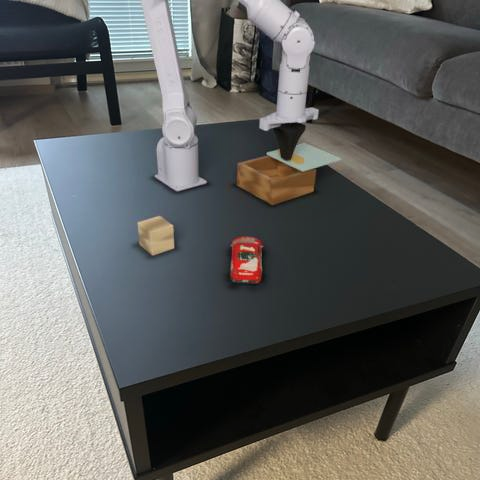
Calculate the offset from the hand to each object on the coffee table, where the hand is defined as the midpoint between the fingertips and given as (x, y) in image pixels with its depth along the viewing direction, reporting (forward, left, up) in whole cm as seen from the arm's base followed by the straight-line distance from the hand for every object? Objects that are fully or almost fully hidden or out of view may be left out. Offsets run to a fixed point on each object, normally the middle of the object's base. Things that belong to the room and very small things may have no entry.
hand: (285, 158), depth 107 cm
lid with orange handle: (0, +5, -1) cm, 5 cm away
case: (0, -3, -6) cm, 7 cm away
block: (+7, -37, -6) cm, 38 cm away
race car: (+21, -27, -6) cm, 35 cm away
